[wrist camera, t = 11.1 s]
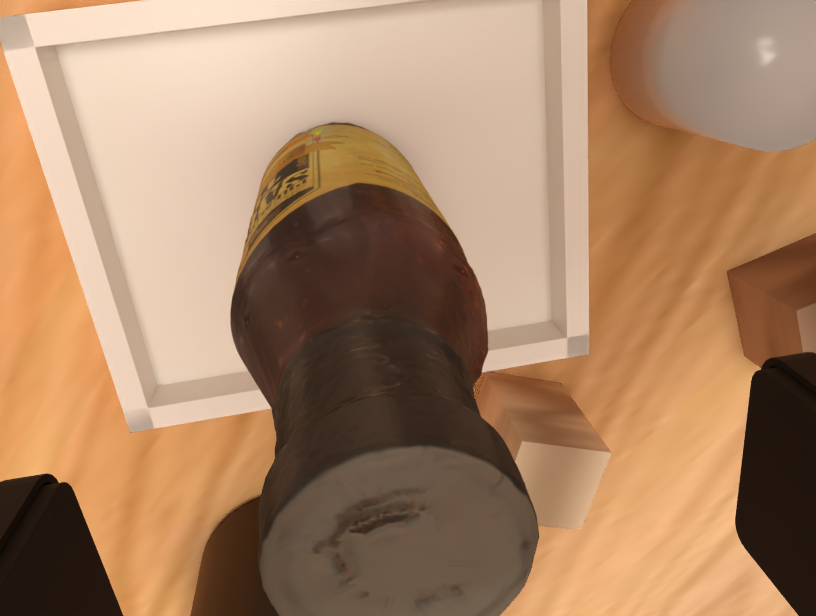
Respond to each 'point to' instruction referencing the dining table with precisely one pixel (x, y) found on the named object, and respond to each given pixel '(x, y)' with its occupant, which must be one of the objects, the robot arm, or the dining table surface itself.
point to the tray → (274, 127)
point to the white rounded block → (721, 68)
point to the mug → (233, 569)
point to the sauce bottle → (373, 394)
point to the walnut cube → (777, 302)
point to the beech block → (546, 445)
